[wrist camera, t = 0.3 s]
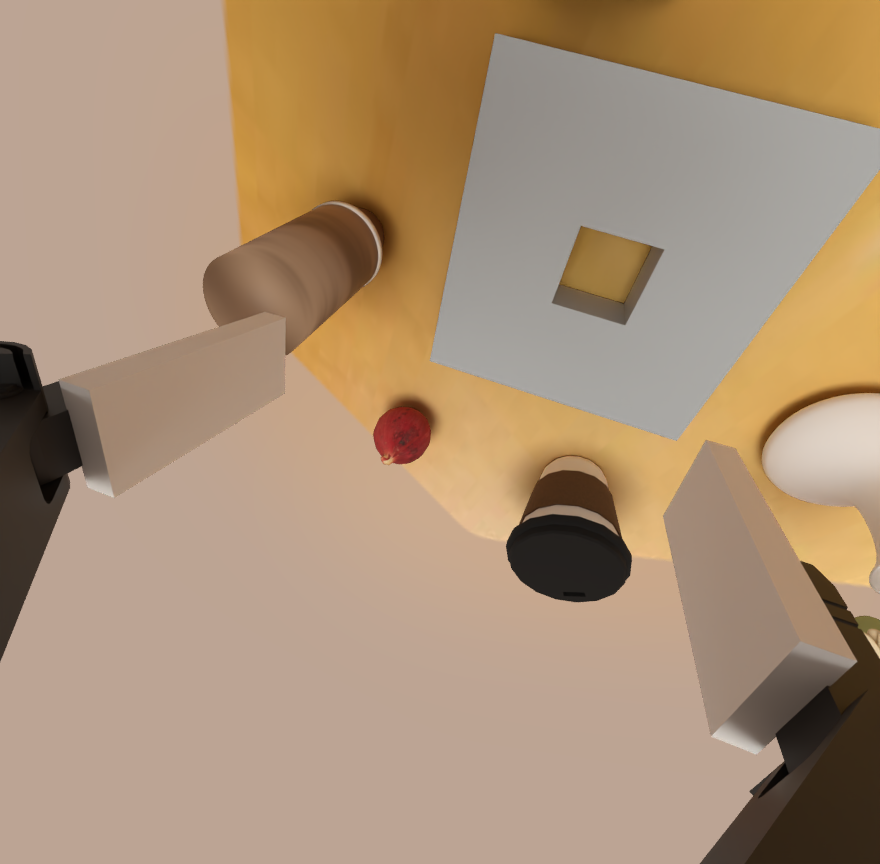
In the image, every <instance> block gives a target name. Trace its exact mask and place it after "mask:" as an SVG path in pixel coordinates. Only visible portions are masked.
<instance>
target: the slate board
mask: <svg viewBox="0 0 880 864" xmlns="http://www.w3.org/2000/svg"><path fill="white" fill-rule="evenodd" d="M879 170H880V129H879V128H875V127H871V126H867V125H863V124H859V123H855V122H851V121H847V120H842V119H838V118H834V117H830V116H826V115H822V114H818V113H814V112H810V111H806V110H802V109H798V108H794V107H790V106H786V105H782V104H778V103H774V102H770V101H766V100H762V99H758V98H754V97H750V96H746V95H742V94H738V93H734V92H730V91H726V90H722V89H718V88H714V87H710V86H706V85H702V84H698V83H694V82H690V81H686V80H682V79H678V78H674V77H670V76H666V75H662V74H658V73H654V72H650V71H646V70H642V69H638V68H634V67H630V66H626V65H622V64H618V63H614V62H610V61H606V60H602V59H598V58H594V57H589V56H585V55H581V54H577V53H573V52H569V51H565V50H561V49H557V48H553V47H549V46H545V45H541V44H537V43H533V42H529V41H525V40H521V39H517V38H513V37H509V36H505V35H501V34H497V33H495V37H494V42H493V47H492V52H491V57H490V62H489V67H488V72H487V77H486V82H485V87H484V92H483V97H482V102H481V107H480V112H479V117H478V122H477V127H476V132H475V137H474V142H473V147H472V152H471V157H470V162H469V167H468V172H467V177H466V182H465V187H464V192H463V197H462V202H461V207H460V212H459V217H458V222H457V227H456V232H455V237H454V242H453V247H452V252H451V257H450V262H449V267H448V272H447V277H446V282H445V287H444V292H443V297H442V302H441V308H440V313H439V318H438V323H437V328H436V333H435V338H434V343H433V348H432V353H431V358H430V361H431V362H435V363H438V364H441V365H444V366H447V367H450V368H453V369H456V370H459V371H462V372H465V373H468V374H472V375H475V376H478V377H481V378H484V379H487V380H490V381H493V382H496V383H499V384H502V385H506V386H509V387H512V388H515V389H518V390H521V391H524V392H527V393H530V394H533V395H536V396H540V397H543V398H546V399H549V400H552V401H555V402H558V403H561V404H564V405H567V406H570V407H574V408H577V409H580V410H583V411H586V412H589V413H592V414H595V415H598V416H601V417H604V418H607V419H611V420H614V421H617V422H620V423H623V424H626V425H629V426H632V427H635V428H638V429H641V430H645V431H648V432H651V433H654V434H657V435H660V436H663V437H666V438H669V439H672V440H675V441H677V440H678V438H679V437H680V436H681V434H682V433H683V432H684V430H685V429H686V428H687V426H688V425H689V424H690V422H691V421H692V420H693V418H694V417H695V416H696V414H697V413H698V412H699V410H700V409H701V408H702V406H703V405H704V404H705V402H706V401H707V400H708V398H709V397H710V396H711V394H712V393H713V392H714V390H715V389H716V388H717V386H718V385H719V384H720V382H721V381H722V380H723V378H724V377H725V376H726V374H727V373H728V372H729V370H730V369H731V368H732V366H733V365H734V364H735V362H736V361H737V360H738V358H739V357H740V356H741V354H742V353H743V352H744V350H745V349H746V348H747V346H748V345H749V344H750V342H751V341H752V340H753V338H754V337H755V336H756V334H757V333H758V332H759V330H760V329H761V328H762V326H763V325H764V324H765V322H766V321H767V320H768V318H769V317H770V316H771V314H772V313H773V312H774V310H775V309H776V308H777V306H778V305H779V304H780V302H781V301H782V300H783V298H784V297H785V296H786V294H787V293H788V292H789V290H790V289H791V288H792V286H793V285H794V284H795V282H796V281H797V280H798V278H799V277H800V276H801V274H802V273H803V272H804V270H805V269H806V268H807V266H808V265H809V264H810V262H811V261H812V260H813V258H814V257H815V256H816V254H817V253H818V252H819V250H820V249H821V248H822V246H823V245H824V244H825V242H826V241H827V240H828V238H829V237H830V236H831V234H832V233H833V232H834V230H835V229H836V228H837V226H838V225H839V224H840V222H841V221H842V220H843V218H844V217H845V216H846V214H847V213H848V212H849V210H850V209H851V208H852V206H853V205H854V204H855V202H856V201H857V200H858V198H859V197H860V195H861V194H862V193H863V191H864V190H865V189H866V187H867V186H868V185H869V183H870V182H871V181H872V179H873V178H874V177H875V175H876V174H877V173H878V171H879ZM581 226H584V227H587V228H591V229H594V230H598V231H601V232H605V233H608V234H612V235H615V236H619V237H622V238H626V239H629V240H633V241H636V242H640V243H643V244H647V245H650V246H652V248H651V250H650V252H649V254H648V256H647V258H646V260H645V262H644V264H643V266H642V268H641V270H640V272H639V274H638V276H637V278H636V281H635V283H634V285H633V287H632V289H631V291H630V293H629V295H628V297H627V299H626V301H625V303H624V304H623V303H620V302H616V301H613V300H610V299H606V298H603V297H599V296H596V295H593V294H589V293H586V292H583V291H579V290H576V289H573V288H569V287H566V286H563V285H559V282H560V280H561V277H562V274H563V272H564V269H565V267H566V264H567V261H568V259H569V256H570V253H571V251H572V248H573V245H574V243H575V240H576V237H577V235H578V232H579V230H580V227H581Z"/></svg>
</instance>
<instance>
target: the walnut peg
mask: <svg viewBox="0 0 880 864" xmlns="http://www.w3.org/2000/svg"><path fill="white" fill-rule="evenodd" d="M383 244H384V231H383V227H382V225H381V223H380V221H379V220H378V218H377V217H376V216H375V215H374V214H373V213H372V212H370V211H368V210H366V209H363V208H356V207H355V206H353V205H351V204H349V203H346V202H342V201H329V202H325V203H323V204H320V205H318V206H317V207H315V208H314V209H313V210H311V211H310V212H308V213H306V214H304V215H302V216H300V217H298V218H296V219H294V220H292V221H290V222H288V223H286V224H284V225H282V226H280V227H278V228H276V229H274V230H272V231H270V232H268V233H266V234H264V235H262V236H260V237H258V238H256V239H254V240H252V241H250V242H248V243H246V244H244V245H242V246H240V247H238V248H236V249H234V250H232V251H230V252H228V253H226V254H224V255H222V256H220V257H218V258H216V259H215V260H213V261H212V262H211V263H210V264H209V266H208V267H207V269H206V271H205V274H204V278H203V292H204V298H205V301H206V304H207V307H208V309H209V311H210V313H211V315H212V317H213V319H214V320H215V322H216V323H217V325H218V326H219V327H220V326H223V325H226V324H229V323H233V322H236V321H239V320H242V319H245V318H248V317H251V316H254V315H257V314H260V313H263V312H267V313H271V314H274V315H278V316H281V317H285V318H286V333H285V355H288V354H289V353H291V352H292V351H293V350H294V349H295V348H296V347H297V346H298V345H300V344H301V343H302V342H303V341H304V340H305V339H306V338H307V337H308V336H309V335H311V334H312V333H313V332H314V331H315V330H316V329H317V328H318V327H319V326H320V325H321V324H323V323H324V322H325V321H326V320H327V319H328V318H329V317H330V316H331V315H332V314H334V313H335V312H336V311H337V310H338V309H339V308H340V307H341V306H342V305H343V304H344V303H346V302H347V301H348V300H349V299H350V298H351V297H352V296H353V295H354V294H355V293H357V292H358V291H359V290H360V289H361V288H362V287H364V286H365V285H367V284H368V283H369V282H370V281H372V280H373V279H374V278H375V276H376V275H377V273H378V271H379V269H380V266H381V262H382V247H383Z"/></svg>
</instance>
